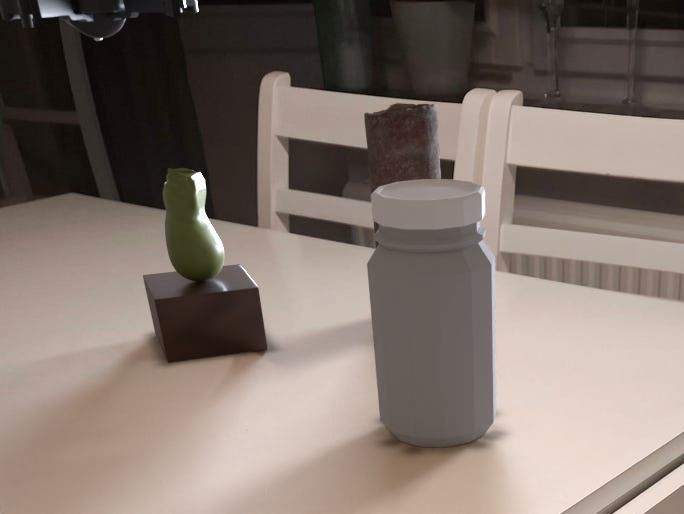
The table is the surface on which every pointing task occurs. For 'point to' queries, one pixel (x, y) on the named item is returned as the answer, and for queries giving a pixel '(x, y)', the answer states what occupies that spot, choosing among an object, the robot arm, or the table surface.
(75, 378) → the table surface
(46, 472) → the table surface
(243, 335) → the block
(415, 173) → the candle
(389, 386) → the jar
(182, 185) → the pear
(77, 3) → the robot arm
